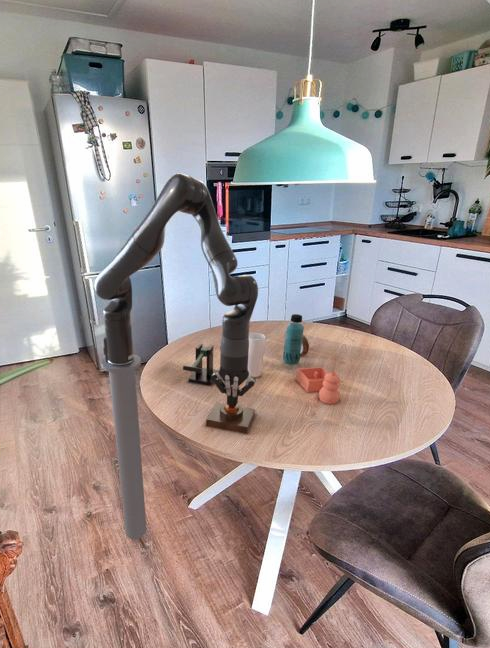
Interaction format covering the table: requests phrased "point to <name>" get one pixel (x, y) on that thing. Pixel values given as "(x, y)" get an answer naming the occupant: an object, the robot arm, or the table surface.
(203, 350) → the lever
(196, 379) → the lever stand
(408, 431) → the table surface
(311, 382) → the pottery
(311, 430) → the table surface
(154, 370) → the table surface
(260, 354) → the drinking glass
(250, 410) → the button block
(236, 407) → the button
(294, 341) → the beverage bottle
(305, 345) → the brown curved piece
